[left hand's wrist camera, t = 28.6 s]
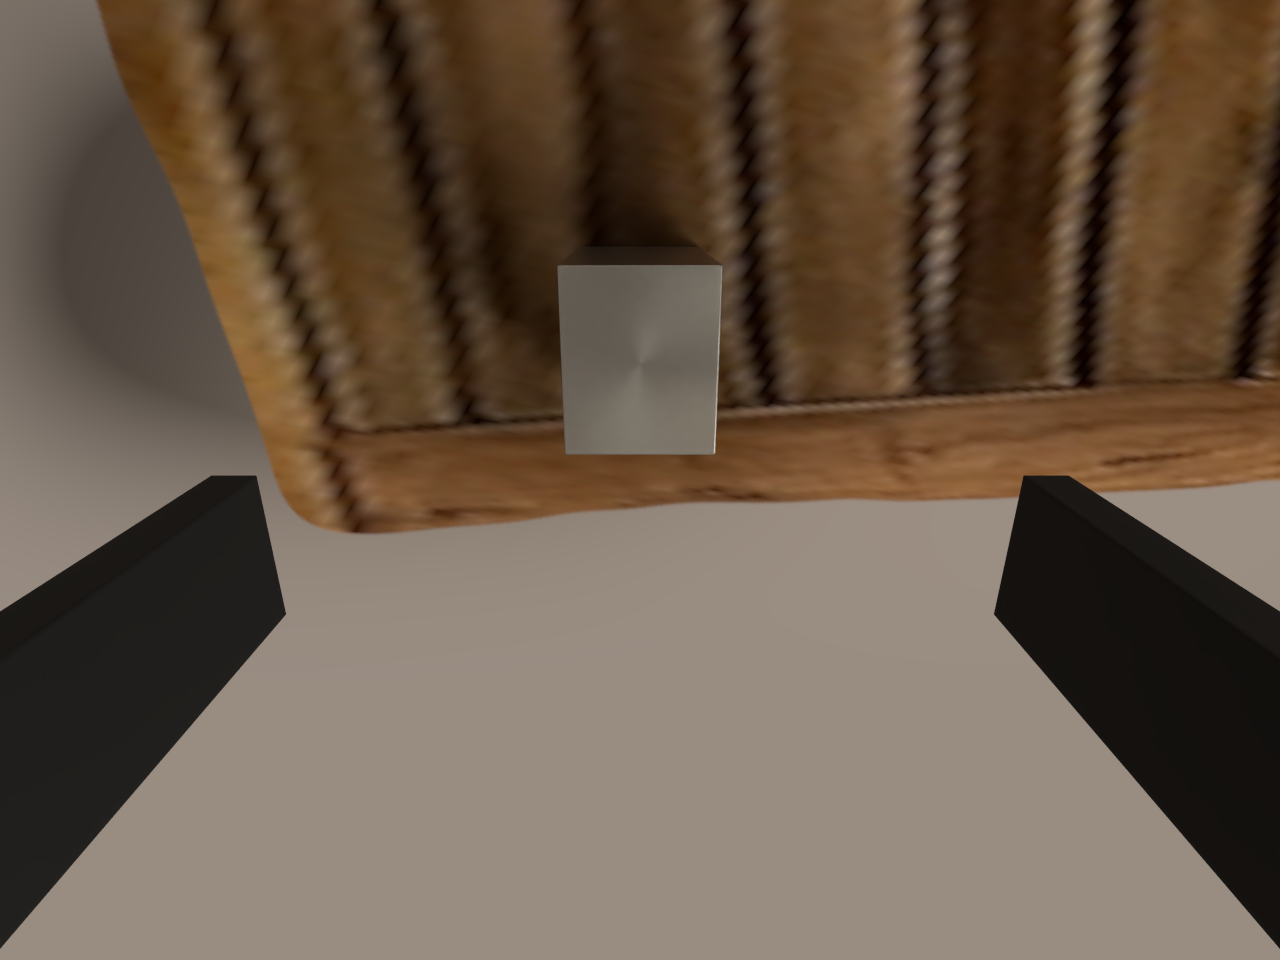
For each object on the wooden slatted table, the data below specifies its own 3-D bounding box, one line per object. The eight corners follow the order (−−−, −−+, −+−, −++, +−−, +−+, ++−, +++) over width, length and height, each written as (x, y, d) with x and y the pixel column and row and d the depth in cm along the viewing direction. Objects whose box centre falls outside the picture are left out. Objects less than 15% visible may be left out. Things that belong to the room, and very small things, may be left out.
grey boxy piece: (584, 387, 38) (564, 455, 28) (580, 246, 35) (556, 265, 25) (695, 387, 38) (715, 455, 28) (699, 246, 35) (723, 264, 25)
